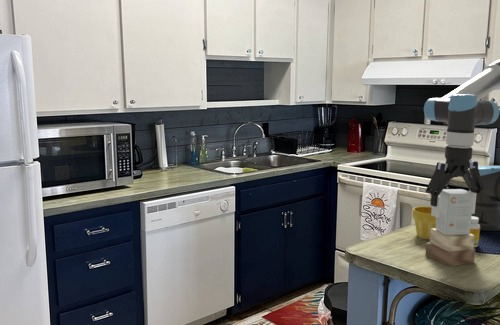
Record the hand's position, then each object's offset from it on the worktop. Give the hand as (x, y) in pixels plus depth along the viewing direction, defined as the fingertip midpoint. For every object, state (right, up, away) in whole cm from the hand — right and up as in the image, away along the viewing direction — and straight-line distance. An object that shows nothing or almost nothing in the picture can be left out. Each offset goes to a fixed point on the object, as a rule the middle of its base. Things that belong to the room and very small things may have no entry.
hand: (453, 214), depth 150 cm
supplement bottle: (+12, -12, +15) cm, 23 cm away
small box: (0, -6, +1) cm, 6 cm away
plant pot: (0, -10, +24) cm, 26 cm away
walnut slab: (0, -14, +3) cm, 15 cm away
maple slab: (0, -10, +2) cm, 10 cm away
